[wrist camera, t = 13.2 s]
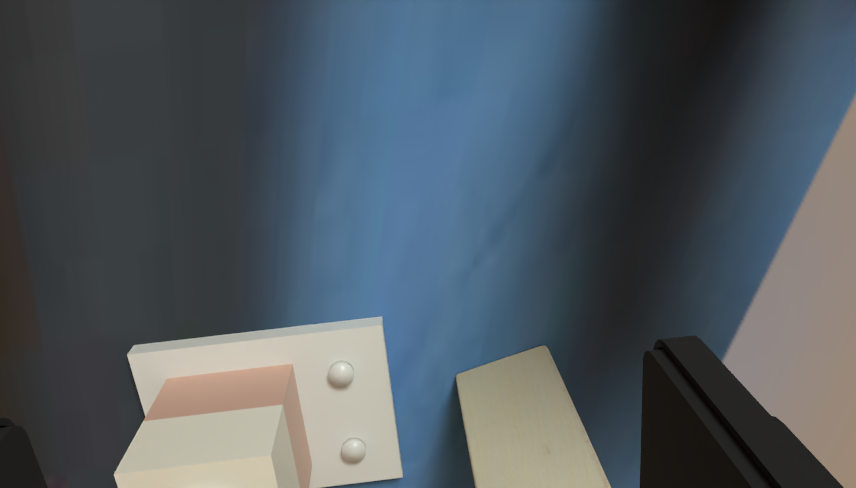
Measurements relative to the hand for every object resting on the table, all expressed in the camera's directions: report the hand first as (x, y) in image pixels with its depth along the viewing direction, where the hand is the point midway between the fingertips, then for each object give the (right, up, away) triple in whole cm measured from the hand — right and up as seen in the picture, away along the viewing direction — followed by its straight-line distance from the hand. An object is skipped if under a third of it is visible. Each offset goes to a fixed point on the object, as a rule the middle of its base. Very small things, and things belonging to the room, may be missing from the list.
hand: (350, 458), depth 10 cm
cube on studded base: (-9, -8, +35) cm, 37 cm away
